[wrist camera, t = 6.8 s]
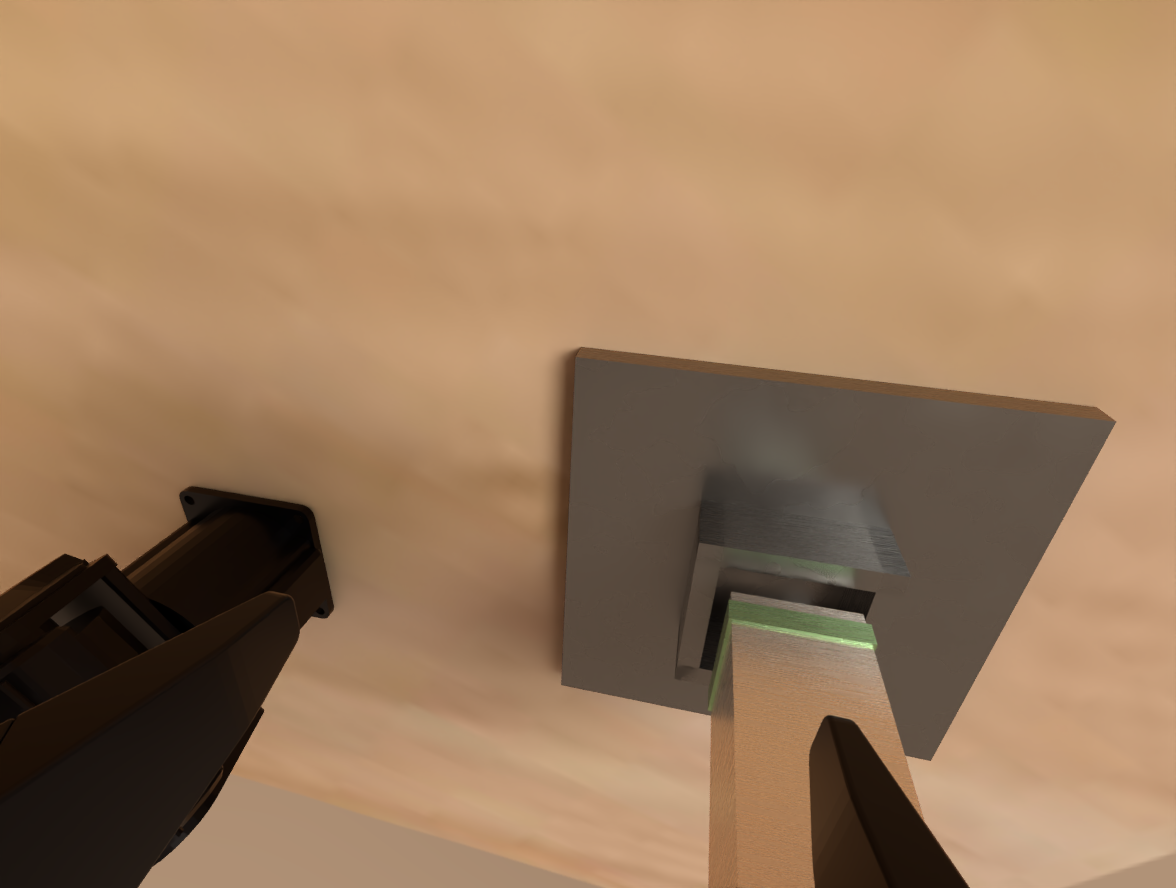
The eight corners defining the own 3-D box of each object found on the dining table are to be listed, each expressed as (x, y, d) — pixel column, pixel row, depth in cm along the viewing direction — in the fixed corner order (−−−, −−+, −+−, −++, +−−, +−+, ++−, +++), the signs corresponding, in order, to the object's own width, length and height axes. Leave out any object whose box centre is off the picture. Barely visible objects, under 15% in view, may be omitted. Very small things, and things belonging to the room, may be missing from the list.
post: (708, 678, 21) (701, 1013, 13) (728, 588, 18) (734, 921, 11) (832, 703, 20) (905, 1070, 12) (867, 612, 18) (980, 984, 10)
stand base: (566, 667, 28) (547, 733, 25) (581, 347, 20) (556, 385, 17) (923, 739, 25) (951, 821, 22) (1096, 407, 18) (1174, 464, 15)
